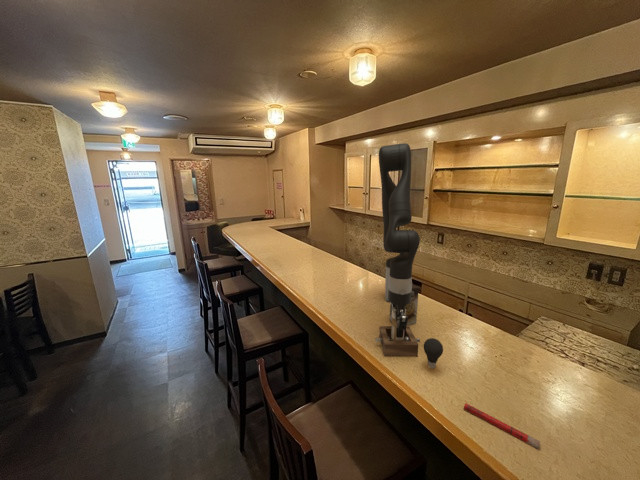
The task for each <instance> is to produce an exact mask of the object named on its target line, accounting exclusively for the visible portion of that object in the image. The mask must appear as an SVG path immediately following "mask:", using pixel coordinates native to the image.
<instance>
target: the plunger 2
mask: <svg viewBox="0 0 640 480" xmlns="http://www.w3.org/2000/svg"><path fill="white" fill-rule="evenodd" d="M415 339H416V341H417V343H420V342H421V339H420V338H419V337H418V338H416V337H415ZM409 340H410V339H409V337H408V336H406V337H405V338H404V341H409Z"/></svg>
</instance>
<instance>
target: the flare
mask: <svg viewBox="0 0 640 480" xmlns="http://www.w3.org/2000/svg"><path fill="white" fill-rule="evenodd" d="M463 406H464V407H463V410H465V411H466V412H468V413H470V414H471V415H474V416H475V417H477V418H480V419H481V420H483V421H485V422H487V423H489V424H491V425H493V426H494V427H496V428H498V429H499V430H502V431H504V432H505V433H507V434H510V435H511V436H513V437H515V438H517V439H519V440H520V441H522V442H524V443H526V444H527V445H530V447H531V446H532V447H533V448H534V449H536V450H539V449H540V445H541V441H540V440H538V439H536V438H534V437H533V436H530V435H529V434H526V433H524V432H522V431H520V430H518V429H516V428H514V427H513V426H512V425H509V424H507V423H505V422H503V421H501V420H500V419H497V418H495V417H493V416H491V415H489V414H488V413H485V412H483V411H482V410H479V409H478V408H476V407H475V406H472V405H470V404H468V403H466V402H465V403H464V405H463Z"/></svg>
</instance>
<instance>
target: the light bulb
mask: <svg viewBox="0 0 640 480" xmlns="http://www.w3.org/2000/svg"><path fill="white" fill-rule="evenodd" d="M423 350H424V351H423V352H424V353H425V355H426V360H427V367H429V368H430V369H435V368H436V367H437V362H438V360H439V358H440V357H441V356H442V355H443V353H444V346H443V344H442V343H441V341H440V340H439V339H437V338H434V337H431V338H427V339H426V340H424V341H423Z"/></svg>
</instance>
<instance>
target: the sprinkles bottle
mask: <svg viewBox="0 0 640 480" xmlns="http://www.w3.org/2000/svg"><path fill="white" fill-rule="evenodd" d="M397 319H399V317H397ZM391 326H392V329H391V341H404V330H403V337H402V338H397V337H396V321H395V313H394V310H393V311H392V322H391Z"/></svg>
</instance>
